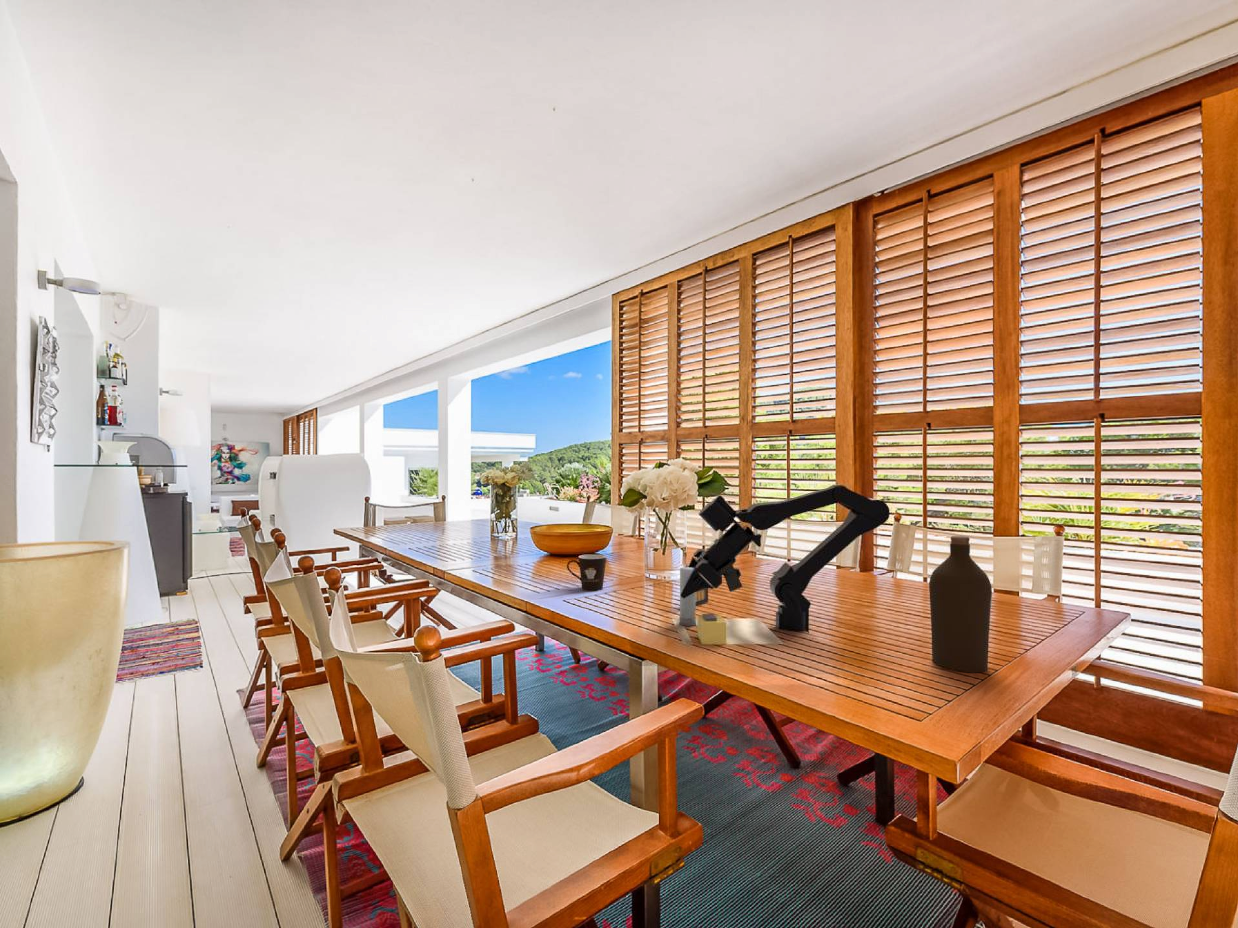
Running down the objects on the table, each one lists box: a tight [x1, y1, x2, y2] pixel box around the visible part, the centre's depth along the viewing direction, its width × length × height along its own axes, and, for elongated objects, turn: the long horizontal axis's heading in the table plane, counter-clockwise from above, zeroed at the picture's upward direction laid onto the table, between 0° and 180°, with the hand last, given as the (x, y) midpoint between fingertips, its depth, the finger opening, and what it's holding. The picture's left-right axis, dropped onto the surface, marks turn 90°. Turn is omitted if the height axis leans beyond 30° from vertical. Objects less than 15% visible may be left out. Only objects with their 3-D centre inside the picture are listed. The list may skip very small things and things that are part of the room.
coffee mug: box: [566, 554, 607, 592], centre depth 184 cm, size 12×9×10 cm
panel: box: [671, 617, 784, 646], centre depth 133 cm, size 21×20×2 cm
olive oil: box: [928, 535, 993, 673], centre depth 115 cm, size 11×11×25 cm
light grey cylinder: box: [679, 566, 697, 627], centre depth 138 cm, size 4×4×13 cm
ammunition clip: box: [685, 563, 709, 608], centre depth 163 cm, size 11×2×12 cm, turn 140°
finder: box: [697, 613, 727, 645], centre depth 126 cm, size 5×6×5 cm
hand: (681, 591), depth 138 cm, fingers open, 9 cm apart
